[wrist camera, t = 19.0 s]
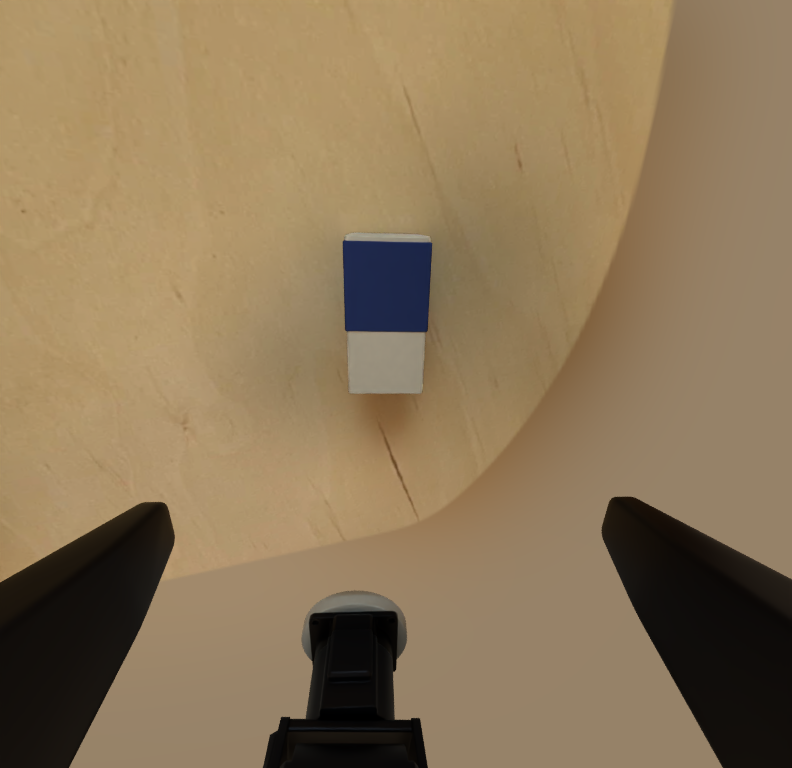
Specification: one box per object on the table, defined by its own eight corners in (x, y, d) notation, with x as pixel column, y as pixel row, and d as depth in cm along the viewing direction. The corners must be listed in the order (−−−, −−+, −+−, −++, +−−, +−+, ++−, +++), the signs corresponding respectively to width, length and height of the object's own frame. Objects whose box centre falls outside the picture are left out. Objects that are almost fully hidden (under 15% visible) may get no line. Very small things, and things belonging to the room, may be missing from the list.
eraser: (414, 362, 19) (424, 395, 16) (353, 361, 19) (346, 395, 15) (420, 233, 17) (432, 236, 13) (350, 232, 17) (342, 234, 13)
